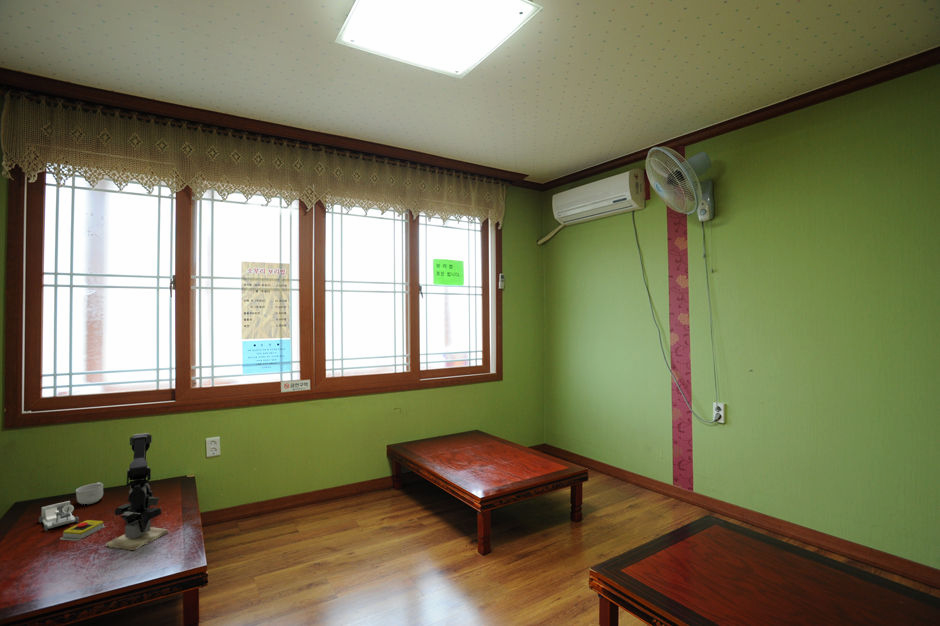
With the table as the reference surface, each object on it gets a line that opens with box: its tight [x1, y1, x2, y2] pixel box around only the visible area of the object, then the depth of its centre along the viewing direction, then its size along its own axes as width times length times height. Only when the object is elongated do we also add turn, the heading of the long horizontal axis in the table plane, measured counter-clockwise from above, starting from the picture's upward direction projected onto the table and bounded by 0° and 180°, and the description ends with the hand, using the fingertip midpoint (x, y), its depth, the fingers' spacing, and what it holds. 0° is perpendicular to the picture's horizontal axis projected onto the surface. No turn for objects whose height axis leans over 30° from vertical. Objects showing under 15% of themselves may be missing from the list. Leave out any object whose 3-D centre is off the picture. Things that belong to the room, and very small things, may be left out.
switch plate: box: [106, 523, 169, 551], centre depth 200 cm, size 16×14×6 cm
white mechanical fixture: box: [38, 500, 80, 532], centre depth 214 cm, size 18×10×12 cm
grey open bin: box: [124, 519, 151, 539], centre depth 200 cm, size 7×5×5 cm, turn 166°
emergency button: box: [59, 519, 106, 542], centre depth 206 cm, size 9×4×15 cm
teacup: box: [75, 481, 104, 505], centre depth 239 cm, size 14×11×8 cm
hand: (138, 531), depth 200 cm, fingers open, 5 cm apart
